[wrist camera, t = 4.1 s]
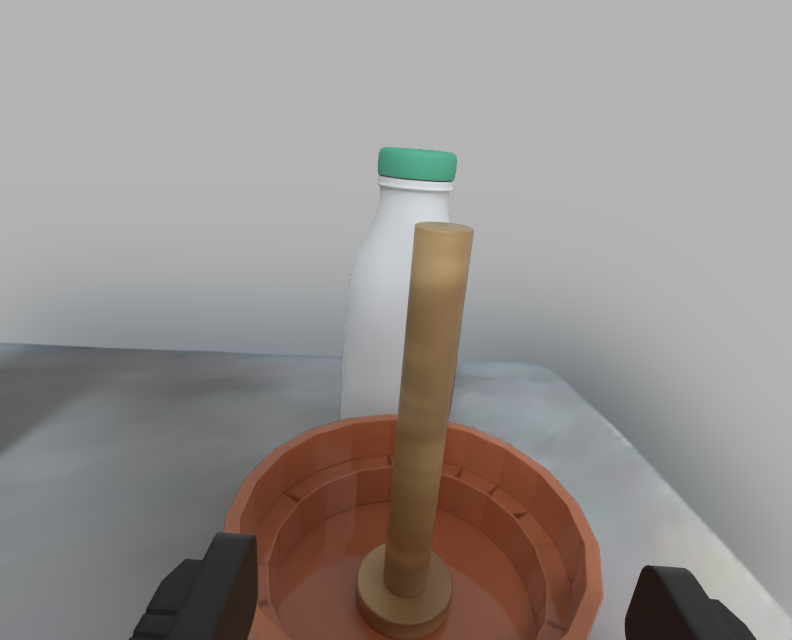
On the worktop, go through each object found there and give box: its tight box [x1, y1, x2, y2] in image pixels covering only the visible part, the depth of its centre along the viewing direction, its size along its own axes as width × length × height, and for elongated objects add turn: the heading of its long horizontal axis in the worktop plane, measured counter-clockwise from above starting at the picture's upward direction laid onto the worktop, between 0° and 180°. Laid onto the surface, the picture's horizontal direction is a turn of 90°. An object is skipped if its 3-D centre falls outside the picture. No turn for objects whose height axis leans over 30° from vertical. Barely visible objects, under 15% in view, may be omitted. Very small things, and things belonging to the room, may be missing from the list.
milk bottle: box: [341, 147, 462, 422], centre depth 31 cm, size 8×8×20 cm
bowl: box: [224, 414, 604, 640], centre depth 21 cm, size 15×15×6 cm
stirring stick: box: [356, 222, 474, 640], centre depth 19 cm, size 4×4×17 cm
